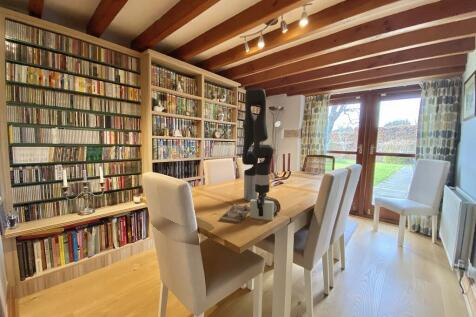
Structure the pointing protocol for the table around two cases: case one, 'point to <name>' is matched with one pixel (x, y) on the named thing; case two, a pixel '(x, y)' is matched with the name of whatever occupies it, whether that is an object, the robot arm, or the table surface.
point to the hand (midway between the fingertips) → (261, 214)
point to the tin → (276, 204)
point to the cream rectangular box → (267, 210)
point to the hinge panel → (235, 214)
